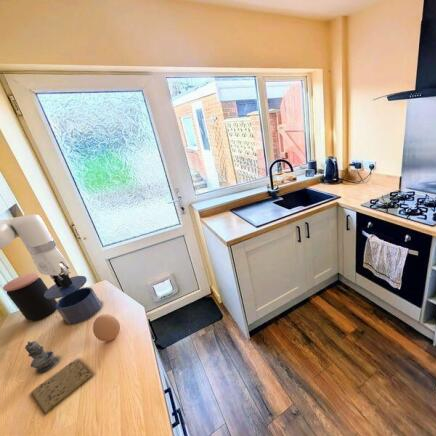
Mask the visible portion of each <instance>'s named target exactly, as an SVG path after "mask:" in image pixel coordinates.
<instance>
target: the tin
mask: <svg viewBox="0 0 436 436" xmlns="http://www.w3.org/2000/svg"><path fill="white" fill-rule="evenodd" d="M55 307H56V311H57V312H58V313H59V314H60V316H61V318H62V320H63V321H64V322H65V324H67V325H76V324H79V323H82V322H84V321H87V320H88V319H90V318H92V317H93V316H95V314H97V313H98V312H99V311H100V309H101V307H102V302H101V301H100V299H99V298H98V295H97V294H96V292H95V290H94V288H92V287H89V286H87V287H81V288H79V289H78V290H76V291H75V292H73V293H71V294H69V295H66V296H64V297H61V298H59V300H57V303H56V305H55Z"/></svg>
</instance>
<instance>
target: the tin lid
mask: <svg viewBox="0 0 436 436" xmlns="http://www.w3.org/2000/svg"><path fill="white" fill-rule="evenodd" d="M69 278H70V279H71V281H72V284H71V285H70V286H68V287H67V288H63V286H62V285H61V283H60V281H59V280H60V279H59V278H58V276H57V277H56V279H57V280H58V282H59V284H60V285H61V287H60V288H59V287H57V285H56V284H55V283H54V284H53V285H51V286H50V287H49V288H48V290H47V291H46V292H45V293H44V297H45V298H46V299H55V300H56V299H61V298H62V297H64V296H66V295H69V294H71V293H73V292H75V291H76V290H78V289H80V288H83V286H84V285H86V283H87V281H88V279H87V277H86V276H84V275H76V276H71V277H69Z"/></svg>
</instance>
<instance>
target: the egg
mask: <svg viewBox="0 0 436 436" xmlns="http://www.w3.org/2000/svg"><path fill="white" fill-rule="evenodd" d="M92 324H93V325H92V332H93V335H94V337H95V339H97V340H99V341H101V342H109V341H113V340H114V339H116V337H117V336H119V334H120V331H121V324H120V321H119V320H118V319H117V318H116V317H115V316H113V315H111V314H108V313H107V314H105V313H103V314H100V315H99V316H97V317H95V319H94V321H93V323H92Z"/></svg>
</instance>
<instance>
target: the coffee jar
mask: <svg viewBox="0 0 436 436" xmlns="http://www.w3.org/2000/svg"><path fill="white" fill-rule="evenodd" d="M2 289H3V290H4V291H5V292H6V295H7V297H9V299H10V300H11V301H12V303H13V304H14V305H15V307H16V308H17V309H18V310H19V312H20V313H21V314H22V315H23V317H24V319H26V320H27V321H29V322H37V321H40V320H43V319H46V318H47V317H49V316H51V315H52V314H53V313H54V312H56V311H57V309H56V307H55V305H56V303H57V302H58V300H56V299H46V298H45V297H44V293H45V292H46V291H47V290H48V289H49V288H48V286H47V285H46V283H45V282H44V280H43V279H42V277H40V275H39V272H29V273H26V274H23V275H21V276H18V277H15V278H14V279H11V280H10V281H8V282H7V283H6V284H4V285H3V286H2Z"/></svg>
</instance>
